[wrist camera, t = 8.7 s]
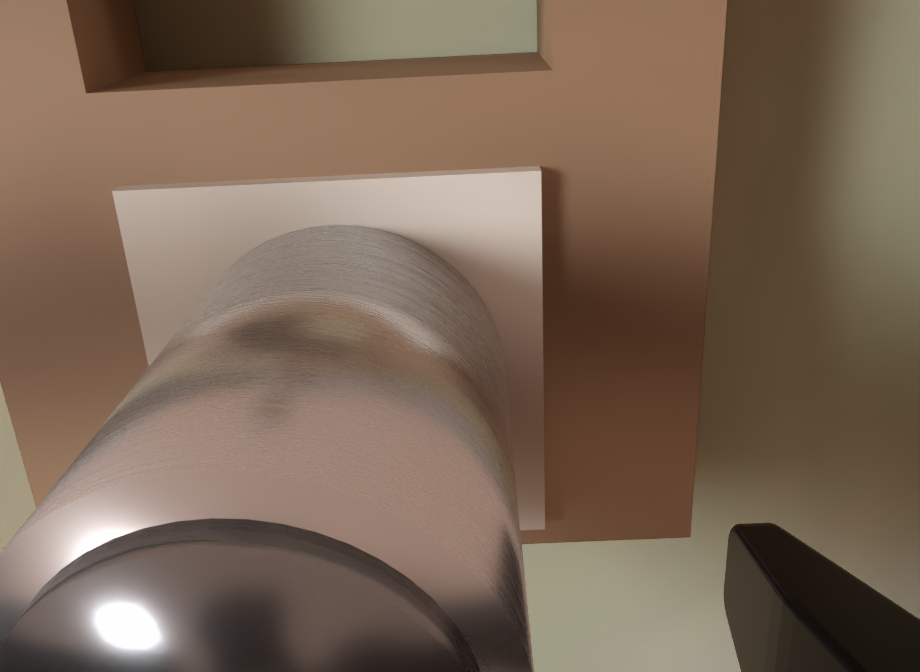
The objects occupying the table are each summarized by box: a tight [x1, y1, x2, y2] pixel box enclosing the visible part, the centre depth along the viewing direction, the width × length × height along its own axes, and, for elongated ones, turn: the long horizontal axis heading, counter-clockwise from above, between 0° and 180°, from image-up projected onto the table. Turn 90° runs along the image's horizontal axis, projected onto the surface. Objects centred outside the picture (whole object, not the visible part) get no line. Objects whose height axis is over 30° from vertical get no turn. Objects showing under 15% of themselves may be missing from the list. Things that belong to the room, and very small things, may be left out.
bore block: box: [0, 0, 727, 544], centre depth 13 cm, size 16×11×3 cm
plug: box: [0, 225, 534, 672], centre depth 10 cm, size 5×5×7 cm
